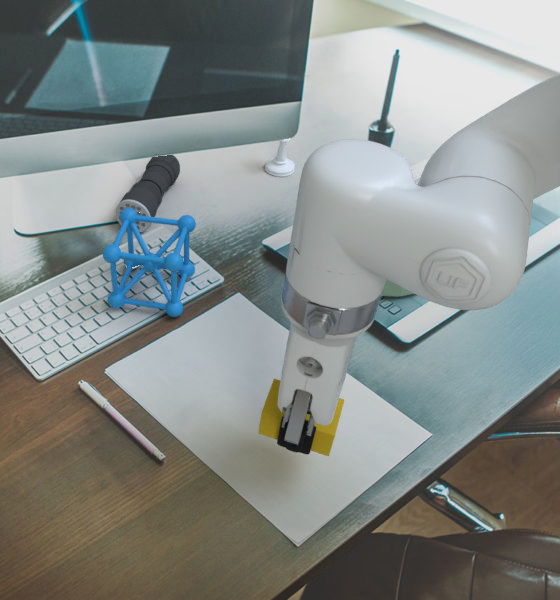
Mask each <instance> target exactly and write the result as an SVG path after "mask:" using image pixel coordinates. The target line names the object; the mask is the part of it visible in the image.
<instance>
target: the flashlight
mask: <svg viewBox="0 0 560 600" xmlns="http://www.w3.org/2000/svg"><path fill="white" fill-rule="evenodd" d="M180 173H181V165H180V161H179V159H178V158H177V157H176V156H175V155H174V154H172V155H167V156H158V157H153V156H152V157H151V158H150V160H149V161H148V162H147V164H146V166H145V170H144V172H143V173H142V176H141V177H140V179H139V181H138V182H135V183H134V184H133V185H132V187H130V190H129V191H127V192H126V193H125V194H124V195H123V197H122V198H121V200H120V202H119V203H118V204H117V205H116V207H115V210H114V213H115V214H114V215H115V218H116V220H117V222H118V224H119V225H120V227H121V226H122V224H123V223H122V222H121V220H120V213H121V212H122V210H124V209H125V208H132V209H134V210H135V211H136V213H137V215H141V216H149V217H156V215H157V211H158V209H159V207H160V206H161V204H162V200H163V196H164V194H165V193H166V192H167V191H168V190H169V189H170V187H171V186H173V185H174V184H175V183H176V181H177V180H178V178H179V176H180ZM139 212H140V213H139ZM135 224H136V226H137V228H138V230H139V232H140V233H142V232H145V231H146V230H147V229H148V228H149V227H150V225H151V222H143V221H136V223H135Z"/></svg>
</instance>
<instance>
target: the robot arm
mask: <svg viewBox="0 0 560 600" xmlns="http://www.w3.org/2000/svg"><path fill="white" fill-rule="evenodd" d="M559 187H560V73H557V74H556V75H553V76H551V77H549V78H547V79H545V80H543V81H541V82H539V83H537V84H535V85H533V86H531V87H529V88H528V89H526V90H524V91H523V92H521V93H519V94H517V95H515V96H514V97H512V98H509V100H507V101H506V102H504V103H502V104H501V105H499V106H497V107H495V108H493V109H492V110H490V111H489V112H486V113H485V114H484V115H482V116H480V117H479V118H477V119H475V120H474V121H473V122H471V123H469V124H467V125H466V126H464V127H463V128H461V129H460V130H458V131H457V132H456V133H454V134H453V135H452V136H450V137H449V138H448V139H447V140H445V141H444V142H443V143H441V144H440V146H439V147H438V148H437V149H436V150H435V151H434V152H433V154H432V155H431V156H430V158H428V160H427V162H426V164H425V165H424V168H423V170H422V173H421V175H420V178H419V180H418V183H416V182H415V177H414V173H413V169H412V167H411V165H410V163H409V162H408V161H407V159H406V158H405V157H404V156H403V155H401V154H400V153H399V152H398V151H396V150H394V149H393V148H391V147H390V146H387V145H385V144H382V143H379V142H376V141H372V140H366V139H360V138H357V139H356V138H348V139H347V138H346V139H339V140H334V141H330V142H328V143H326V144H322V145H321V146H320V147H318V148H316V149H315V150H314V151H313V152H312V153H310V155H309V156H308V158H307V159H306V161H305V162H304V164H303V167H302V169H301V175H300V178H299V185H298V191H297V198H296V203H295V211H294V217H293V224H292V228H291V229H292V230H291V235H290V242H289V248H288V256H287V261H286V267H285V268H286V269H285V274H284V279H283V287H282V293H281V298H280V299H281V300H280V305H281V310H282V312H283V314H284V316H285V317H286V319H287V320H288V321H289V322H290V325H289V331H288V336H287V341H286V347H285V352H284V358H283V364H282V369H281V376H280V380H281V381H280V387H279V394H278V408H279V409H280V411H281V412H283V410H284V411H285V414H284V417H282V420H281V424H280V429H279V435H278V440H277V439H276V444H277V445H278V446H279V447H282V448H285V449H286V450H287V451H290V452H293V453H300V454H303V455H310V453H311V452H312V451H311V447H312V443H313V439H314V435H315V431H316V428H317V427H315V426H314V424H315V423H316V424H320V425H323V426H327V425H329V424H330V423H331V422H332V420H333V417H334V414H335V410H336V407H337V404H338V400H339V398H340V397H341V393H342V390H343V386H344V383H345V380H346V376H347V373H348V369H349V366H350V363H351V360H352V356H353V352H354V348H355V345H356V342H357V338H358V336H360V335H362V334H363V333H365V332H366V331H368V329H370V328H371V326H372V325H373V323H374V321H375V318H376V315H377V312H378V309H379V305H380V301H381V300H382V299H381V298H382V296H381V295H382V292H383V288H384V286H385V282H386V279H387V280H389V281H391V282H393V283H395V284H397V285H399V286H401V287H403V288H405V289H407V290H408V291H410V292H412V293H414V294H413V295H417V296H418V297H421V298H422V299H425V300H427V301H429V302H431V303H433V304H435V305H436V304H437V305H439V306H442V307H445V308H448V309H452V310H453V309H454V310H459V311H481V310H486V309H489V308H493V307H495V306H497V305H500V304H501V303H503V302H504V301H506V300H507V299H508V298H510V296H511V295H512V294H513V293H514V292H515V291H516V290H517V288H518V286H519V285H520V283H521V281H522V279H523V276H524V273H525V269H526V265H527V259H528V258H527V257H528V249H529V240H530V231H531V223H532V222H531V221H532V210H533V203H534V201H535V199H537V198H539V197H541V196H543V195H544V194H547V193H549V192H551V191H553V190H555V189H557V188H559ZM306 414H309V415H310V418H309V421H308V420H305V418H306Z"/></svg>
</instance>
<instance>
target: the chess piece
mask: <svg viewBox="0 0 560 600" xmlns="http://www.w3.org/2000/svg"><path fill="white" fill-rule="evenodd" d="M277 141H278V142H279V145H278V149H277V153H276V156H275V157H272V158H270V159H268V160H267V161H266V162H265V165H264V170H265V172H266V173H267V174H269V175H271V176H273V177H279V178H281V177H284V178H285V177H287V176H288V177H289V176H291V175H293V174H294V173H295V171H296V165H295V162H294V161H293V160H291V159H289V158H288V157H287V143H288V142H290V141H291V137H290V138H289V139H284V140H277Z"/></svg>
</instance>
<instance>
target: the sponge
mask: <svg viewBox="0 0 560 600" xmlns="http://www.w3.org/2000/svg"><path fill="white" fill-rule="evenodd" d="M280 381H281V379H277V378H273V380H272V383H271V386H270V388H269V390H268V393H267V396H266V398H265V402H264V404H263V407H262V410H261V412H260V420H259V425H258V432H257V433H258V434H259V435H261V436H265V437H268V438H271V439H273V440H276V441H277V440H278V435H279V429H280V424H281V420H282V417H284V414H285V411H284V410H283V412H281V411H280V409H279V408H278V394H279V387H280ZM344 404H345V399H344V398H340V397H339V400H338V404H337V407H336V410H335V414H334V417H333V420H332V422H331V423H330V424H329V425H327V426H323V425H320V424H316V423H315V424H314V426H315V427H317V428H316V431H315V435H314V439H313V443H312V447H311V451H310V452H314V453H317V454H320V455H323V456H326V457H330V454H331V450H332V447H333V444H334V440H335V437H336V433H337V429H338V426H339V422H340V418H341V416H342V415H341V414H342V411H343V407H344ZM309 418H310V415H309V414H306V418H305V420H308V421H309Z"/></svg>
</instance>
